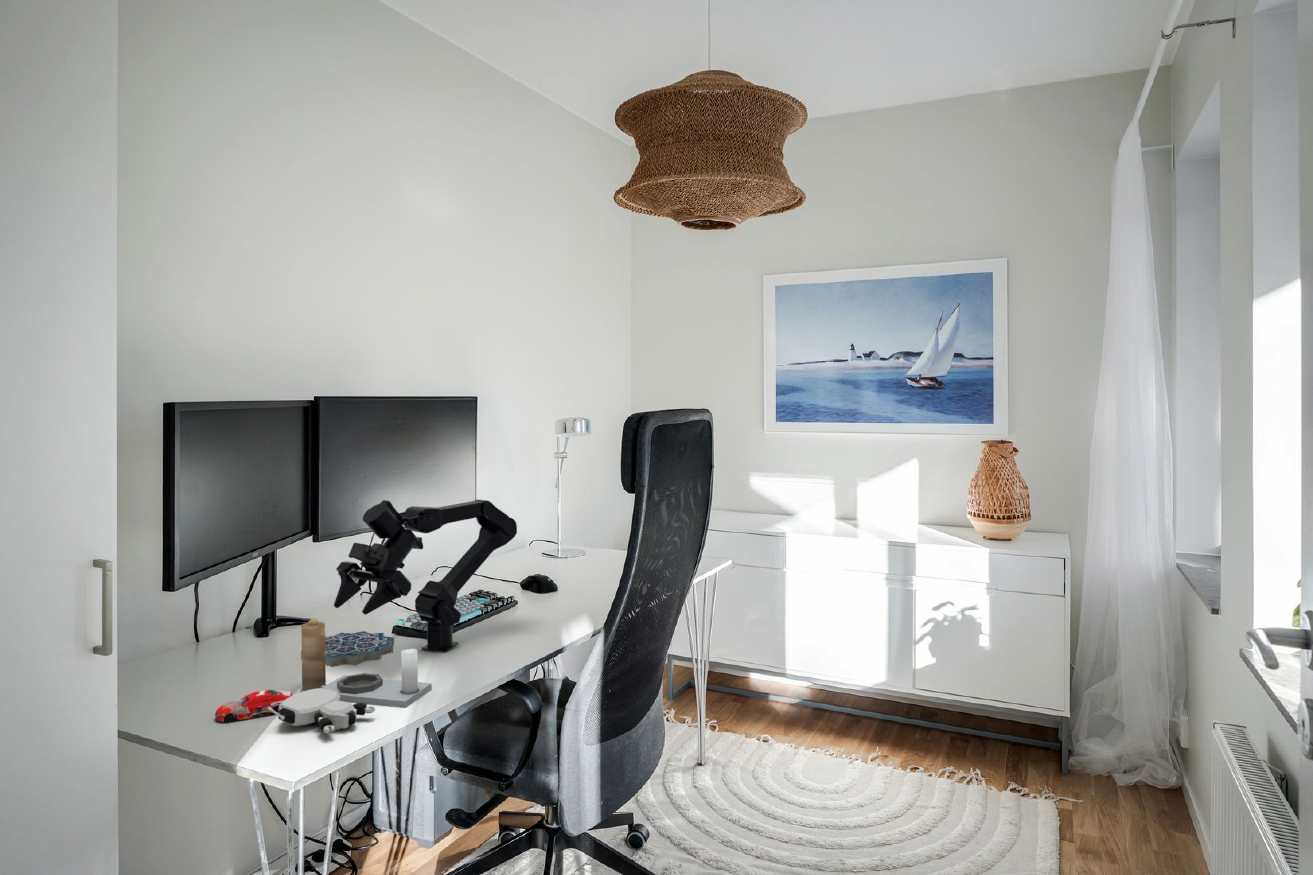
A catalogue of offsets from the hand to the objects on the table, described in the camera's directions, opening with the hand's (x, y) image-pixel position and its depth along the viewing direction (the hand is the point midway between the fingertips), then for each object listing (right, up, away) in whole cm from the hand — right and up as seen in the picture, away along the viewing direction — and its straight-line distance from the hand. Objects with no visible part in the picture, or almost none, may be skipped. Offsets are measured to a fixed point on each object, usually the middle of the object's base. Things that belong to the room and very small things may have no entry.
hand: (349, 610), depth 164 cm
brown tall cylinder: (-5, -15, -6) cm, 16 cm away
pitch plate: (+8, -15, -9) cm, 19 cm away
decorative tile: (-7, -14, +17) cm, 23 cm away
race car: (-10, -16, -19) cm, 26 cm away
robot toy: (+4, -16, -23) cm, 28 cm away
